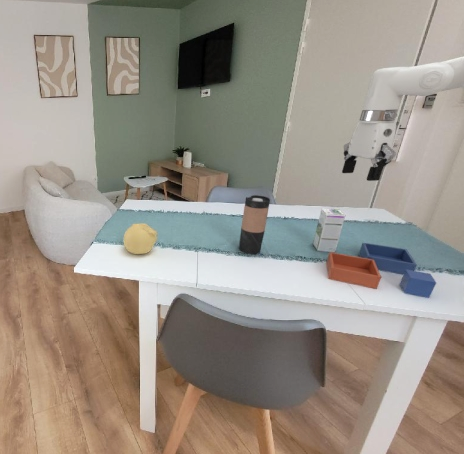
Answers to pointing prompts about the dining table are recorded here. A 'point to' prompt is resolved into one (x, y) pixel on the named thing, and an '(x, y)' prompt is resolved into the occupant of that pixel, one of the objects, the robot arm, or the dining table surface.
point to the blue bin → (388, 258)
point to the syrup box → (328, 230)
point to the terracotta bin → (353, 270)
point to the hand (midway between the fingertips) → (359, 176)
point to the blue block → (417, 283)
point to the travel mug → (253, 224)
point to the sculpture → (140, 238)
